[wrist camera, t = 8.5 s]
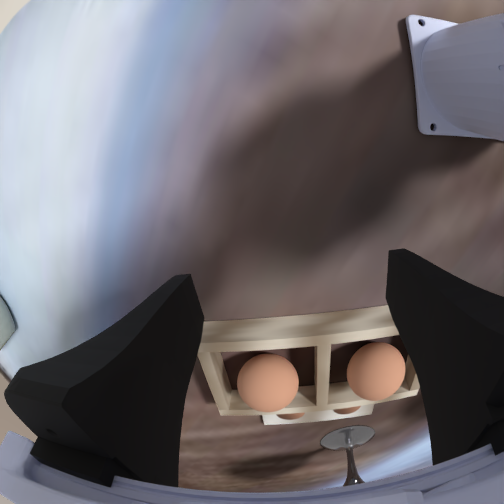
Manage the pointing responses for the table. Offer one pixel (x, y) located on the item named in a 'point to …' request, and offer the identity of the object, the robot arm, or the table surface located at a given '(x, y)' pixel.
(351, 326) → the rack
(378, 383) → the ball
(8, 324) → the air freshener
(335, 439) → the wine glass
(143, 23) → the table surface
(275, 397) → the loose ball
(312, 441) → the table surface
